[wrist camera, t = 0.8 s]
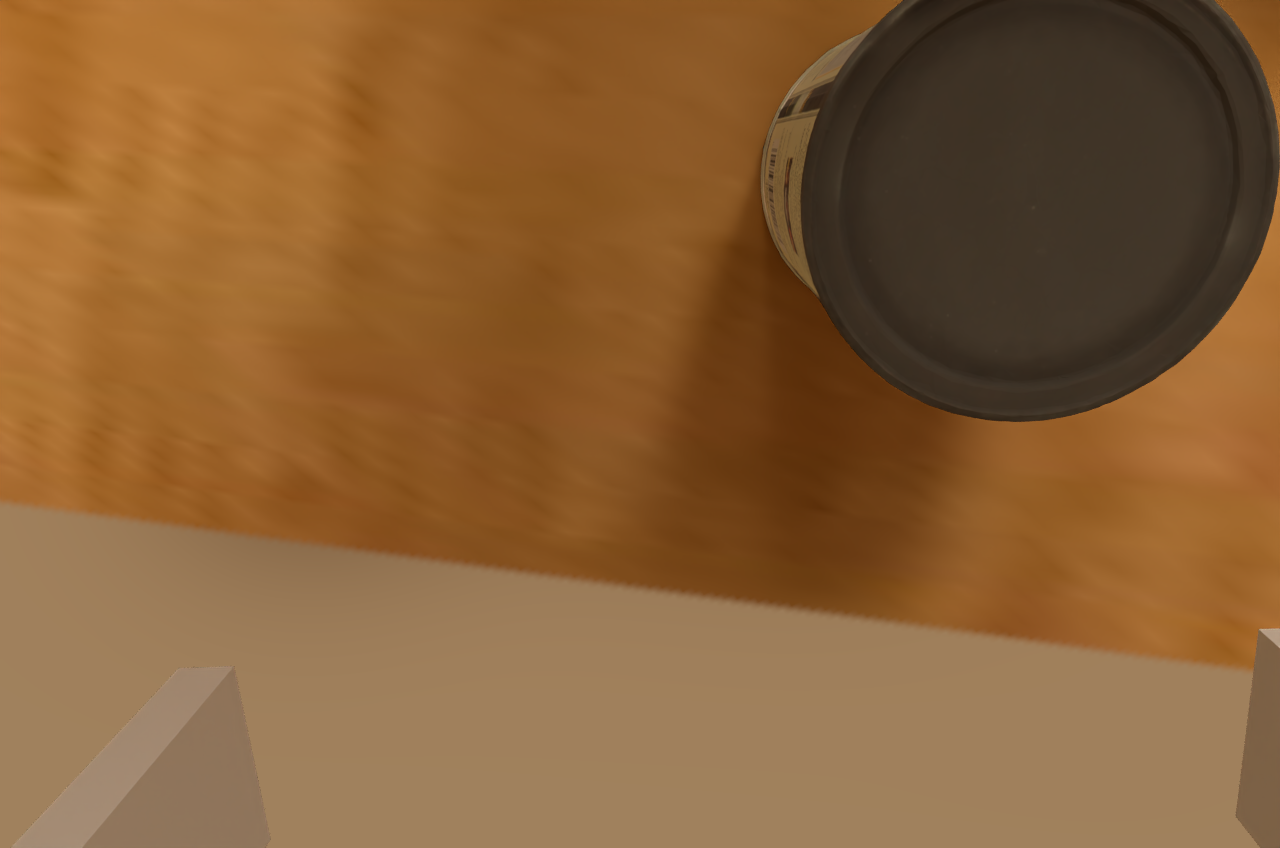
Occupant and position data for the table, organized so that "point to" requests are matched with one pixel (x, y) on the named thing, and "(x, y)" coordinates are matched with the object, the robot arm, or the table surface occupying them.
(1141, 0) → the coffee can
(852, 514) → the table surface
